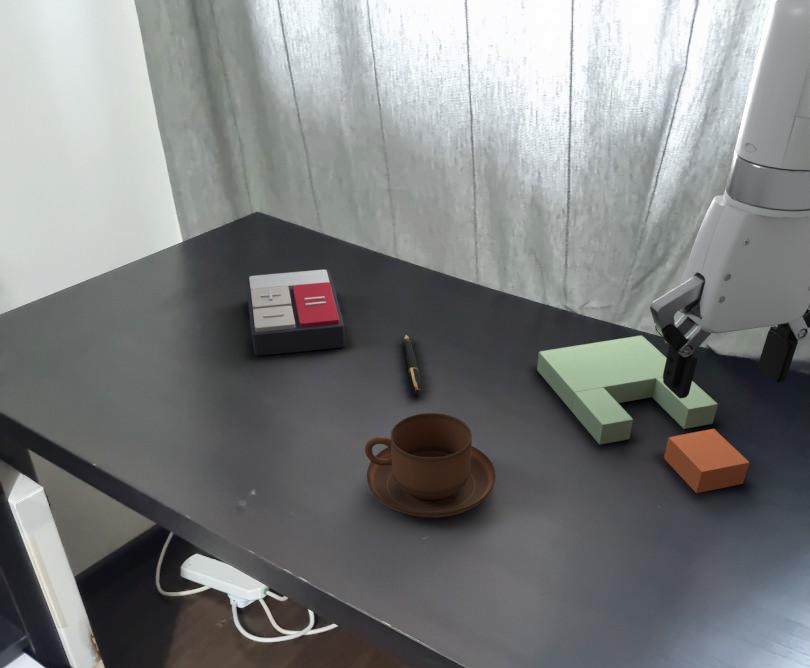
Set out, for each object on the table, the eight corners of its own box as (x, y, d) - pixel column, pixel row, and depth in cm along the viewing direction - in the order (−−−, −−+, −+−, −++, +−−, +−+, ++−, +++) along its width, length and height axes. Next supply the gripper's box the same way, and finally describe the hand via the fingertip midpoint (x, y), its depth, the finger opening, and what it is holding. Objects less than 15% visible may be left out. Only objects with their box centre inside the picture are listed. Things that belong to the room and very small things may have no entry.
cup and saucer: (376, 536, 73) (373, 480, 69) (361, 459, 82) (357, 406, 78) (507, 522, 74) (512, 466, 70) (479, 447, 83) (481, 394, 79)
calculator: (250, 328, 96) (244, 271, 107) (255, 361, 99) (249, 302, 110) (344, 319, 97) (329, 264, 108) (346, 351, 100) (331, 294, 111)
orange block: (708, 449, 83) (714, 428, 81) (743, 483, 78) (749, 462, 77) (663, 458, 82) (668, 437, 80) (696, 493, 77) (702, 471, 76)
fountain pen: (401, 339, 102) (401, 328, 101) (410, 339, 102) (410, 328, 101) (413, 400, 91) (413, 388, 90) (423, 399, 91) (423, 387, 90)
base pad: (638, 353, 98) (641, 334, 96) (712, 423, 86) (718, 404, 85) (536, 370, 95) (538, 351, 94) (599, 444, 84) (602, 424, 82)
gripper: (843, 158, 67) (781, 351, 78) (652, 177, 63) (615, 376, 74) (910, 187, 61) (833, 389, 73) (706, 209, 58) (657, 419, 69)
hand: (723, 382), depth 73 cm, fingers open, 9 cm apart
